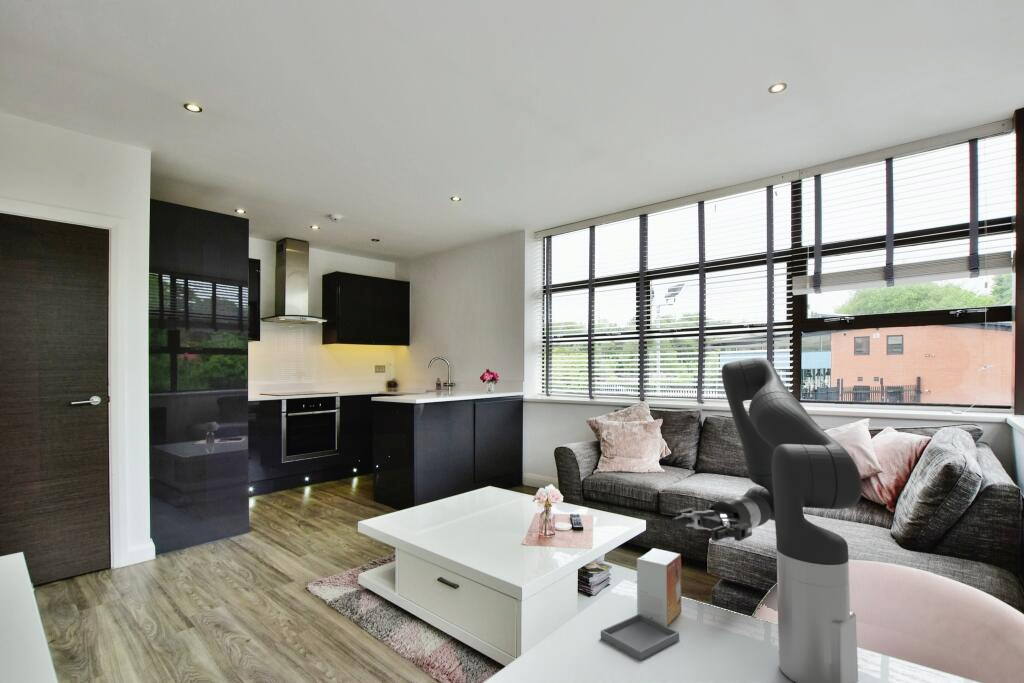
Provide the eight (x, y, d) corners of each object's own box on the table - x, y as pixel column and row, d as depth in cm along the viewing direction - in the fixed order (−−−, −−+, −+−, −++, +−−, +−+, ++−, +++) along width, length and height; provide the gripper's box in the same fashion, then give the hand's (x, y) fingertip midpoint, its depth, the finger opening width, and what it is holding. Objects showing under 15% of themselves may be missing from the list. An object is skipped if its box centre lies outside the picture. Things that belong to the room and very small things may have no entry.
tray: (679, 640, 83) (679, 632, 83) (640, 660, 76) (640, 652, 76) (639, 620, 89) (639, 613, 89) (600, 638, 83) (600, 630, 83)
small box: (666, 628, 86) (666, 565, 87) (636, 618, 90) (636, 558, 91) (682, 611, 93) (681, 553, 94) (653, 603, 96) (652, 547, 97)
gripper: (704, 491, 115) (662, 502, 105) (767, 505, 104) (726, 519, 94) (705, 525, 115) (662, 539, 105) (768, 542, 104) (727, 559, 94)
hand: (693, 529), depth 99 cm, fingers open, 8 cm apart
